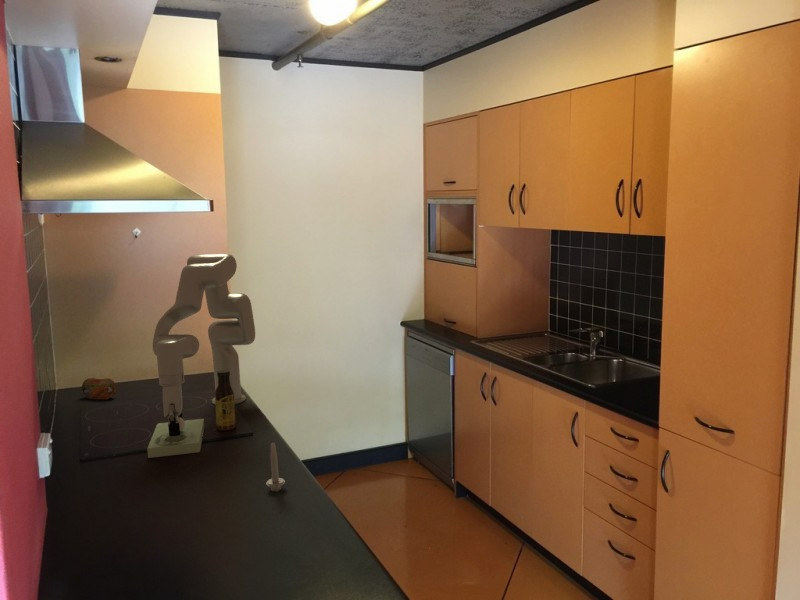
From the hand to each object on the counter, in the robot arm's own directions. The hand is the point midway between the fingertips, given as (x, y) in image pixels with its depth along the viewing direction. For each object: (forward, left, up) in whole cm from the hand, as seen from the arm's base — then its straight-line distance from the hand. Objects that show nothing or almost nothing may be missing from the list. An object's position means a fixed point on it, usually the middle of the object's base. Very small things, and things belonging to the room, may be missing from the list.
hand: (176, 430), depth 208 cm
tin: (-65, -36, -4) cm, 75 cm away
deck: (-1, 0, -4) cm, 4 cm away
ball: (-2, 0, +1) cm, 2 cm away
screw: (+46, +29, -4) cm, 54 cm away
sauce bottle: (-9, +15, -4) cm, 18 cm away
